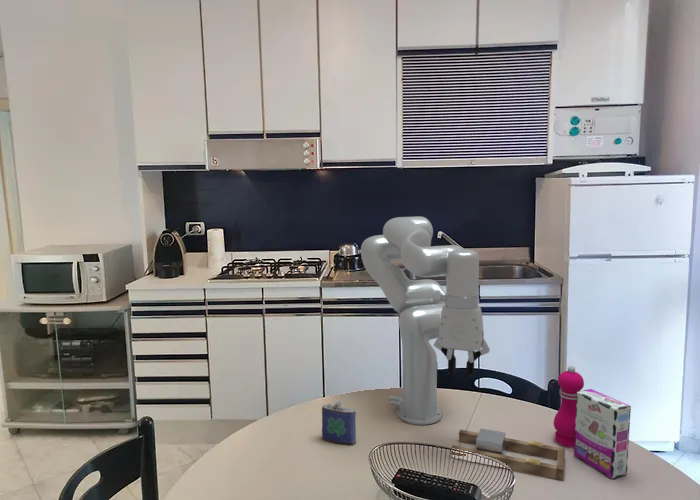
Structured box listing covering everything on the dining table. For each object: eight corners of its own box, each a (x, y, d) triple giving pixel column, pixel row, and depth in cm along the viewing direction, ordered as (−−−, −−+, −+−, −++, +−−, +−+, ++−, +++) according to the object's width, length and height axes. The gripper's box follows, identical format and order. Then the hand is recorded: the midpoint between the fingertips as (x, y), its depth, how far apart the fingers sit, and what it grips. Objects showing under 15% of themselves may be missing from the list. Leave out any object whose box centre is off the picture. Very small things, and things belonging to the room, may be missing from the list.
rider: (475, 459, 126) (476, 439, 125) (480, 447, 131) (480, 428, 130) (501, 464, 123) (502, 444, 123) (505, 451, 129) (505, 432, 128)
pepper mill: (586, 449, 129) (590, 371, 126) (555, 447, 130) (558, 370, 127) (580, 435, 136) (583, 361, 133) (550, 433, 137) (553, 360, 134)
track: (451, 457, 126) (451, 446, 126) (460, 438, 135) (460, 427, 135) (563, 480, 116) (563, 468, 116) (564, 458, 125) (565, 446, 125)
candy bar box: (628, 474, 118) (632, 405, 116) (612, 480, 116) (616, 410, 114) (588, 451, 128) (591, 387, 126) (572, 456, 126) (575, 391, 124)
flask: (357, 441, 134) (356, 402, 133) (353, 447, 132) (352, 406, 130) (324, 435, 138) (323, 396, 136) (319, 440, 135) (318, 401, 134)
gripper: (424, 302, 125) (423, 376, 127) (494, 308, 118) (493, 386, 121) (432, 295, 132) (431, 365, 134) (499, 301, 125) (498, 374, 128)
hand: (460, 374), depth 128 cm, fingers open, 3 cm apart
